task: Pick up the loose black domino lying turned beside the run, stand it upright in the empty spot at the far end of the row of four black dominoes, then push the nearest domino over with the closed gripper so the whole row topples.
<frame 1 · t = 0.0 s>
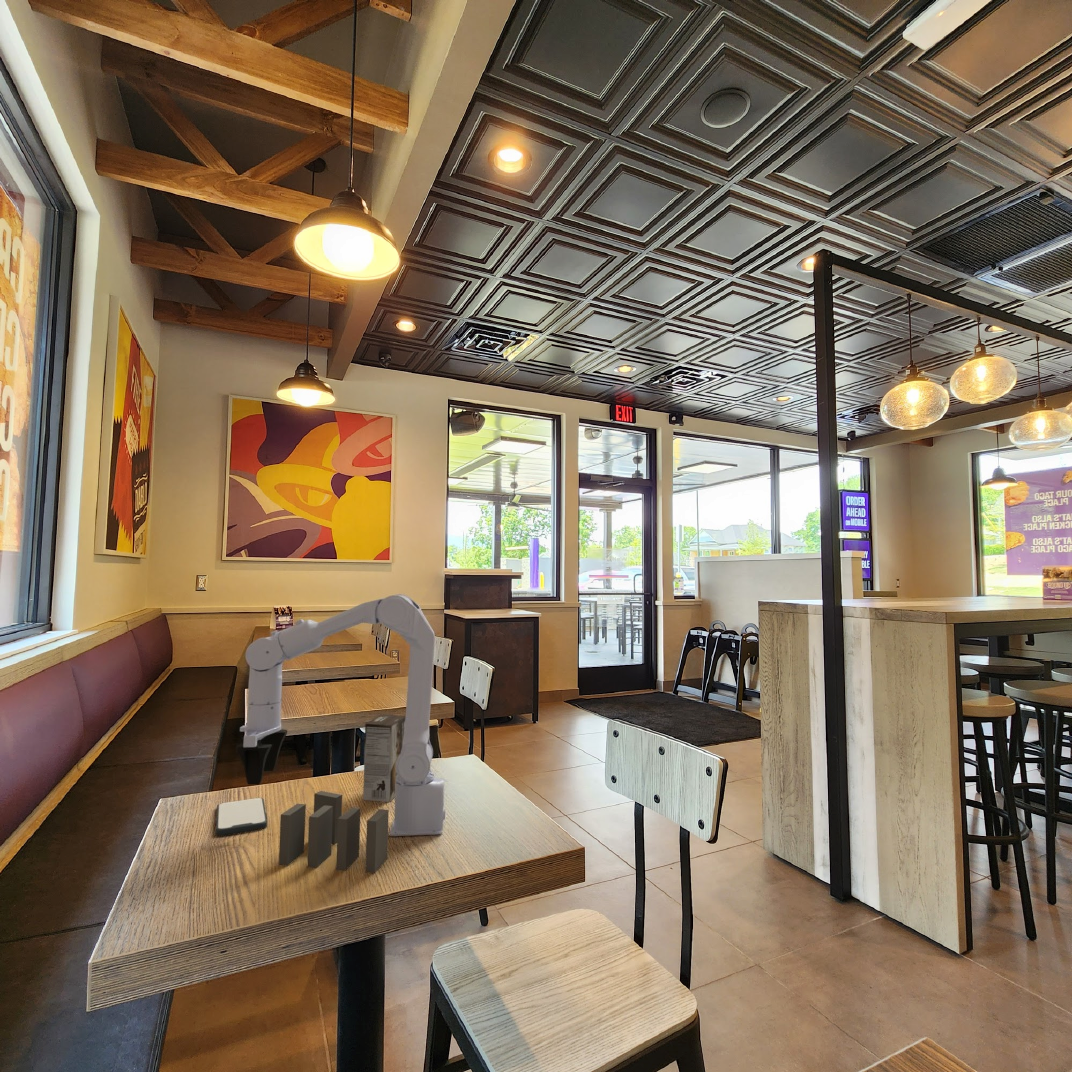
hand: (261, 777, 111), 10 cm above the table, tool pointing down, fingers open, 7 cm apart
domino 3: (319, 860, 99), on the table
coffee box: (384, 795, 131), on the table
domino 1: (376, 865, 98), on the table
end domino: (326, 840, 107), on the table
domino 4: (291, 858, 100), on the table
domino 2: (347, 863, 98), on the table
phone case: (240, 821, 117), on the table
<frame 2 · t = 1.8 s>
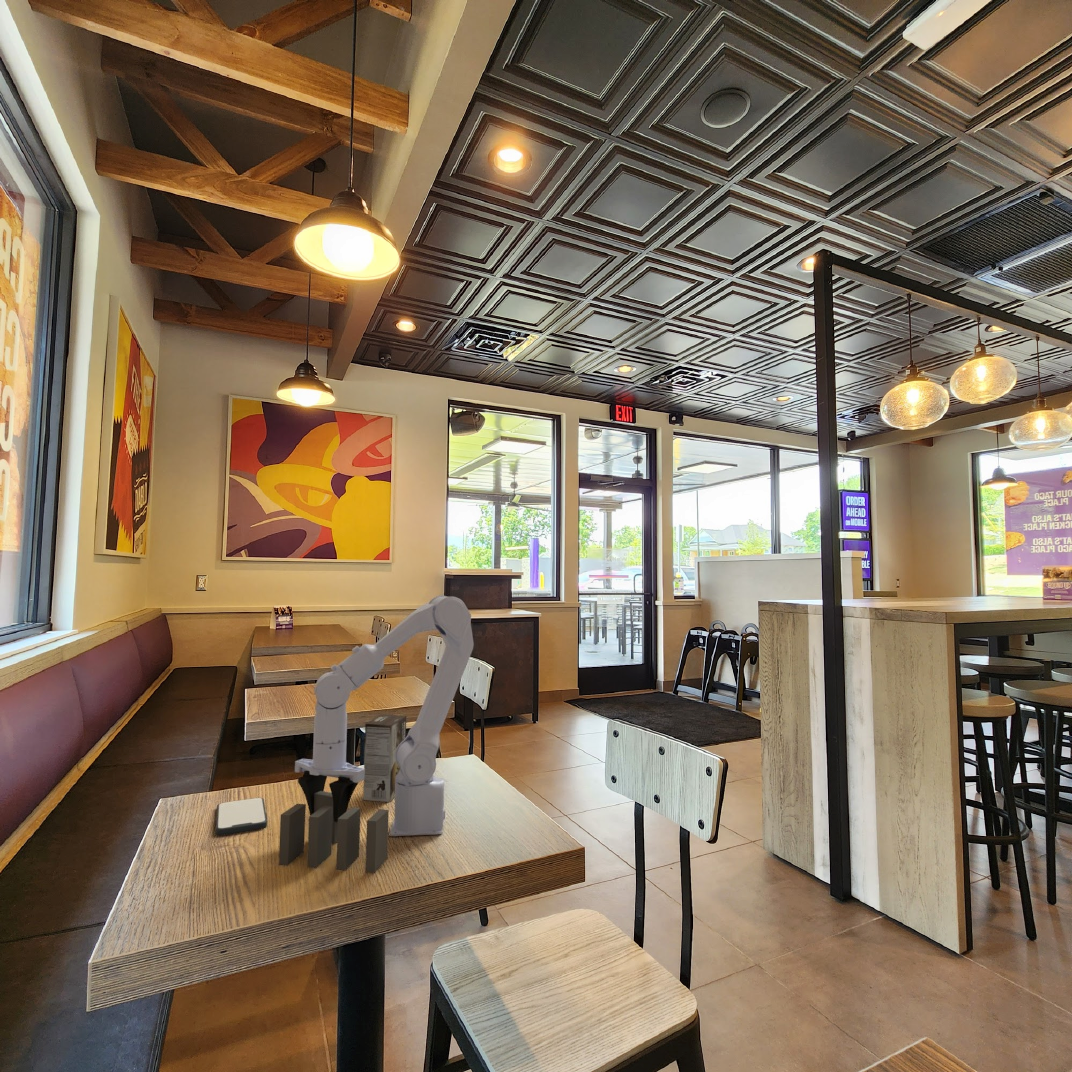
hand: (327, 817, 108), 4 cm above the table, tool pointing down, fingers closed on end domino, 5 cm apart
end domino: (326, 840, 107), on the table, touching gripper
everything else where it was.
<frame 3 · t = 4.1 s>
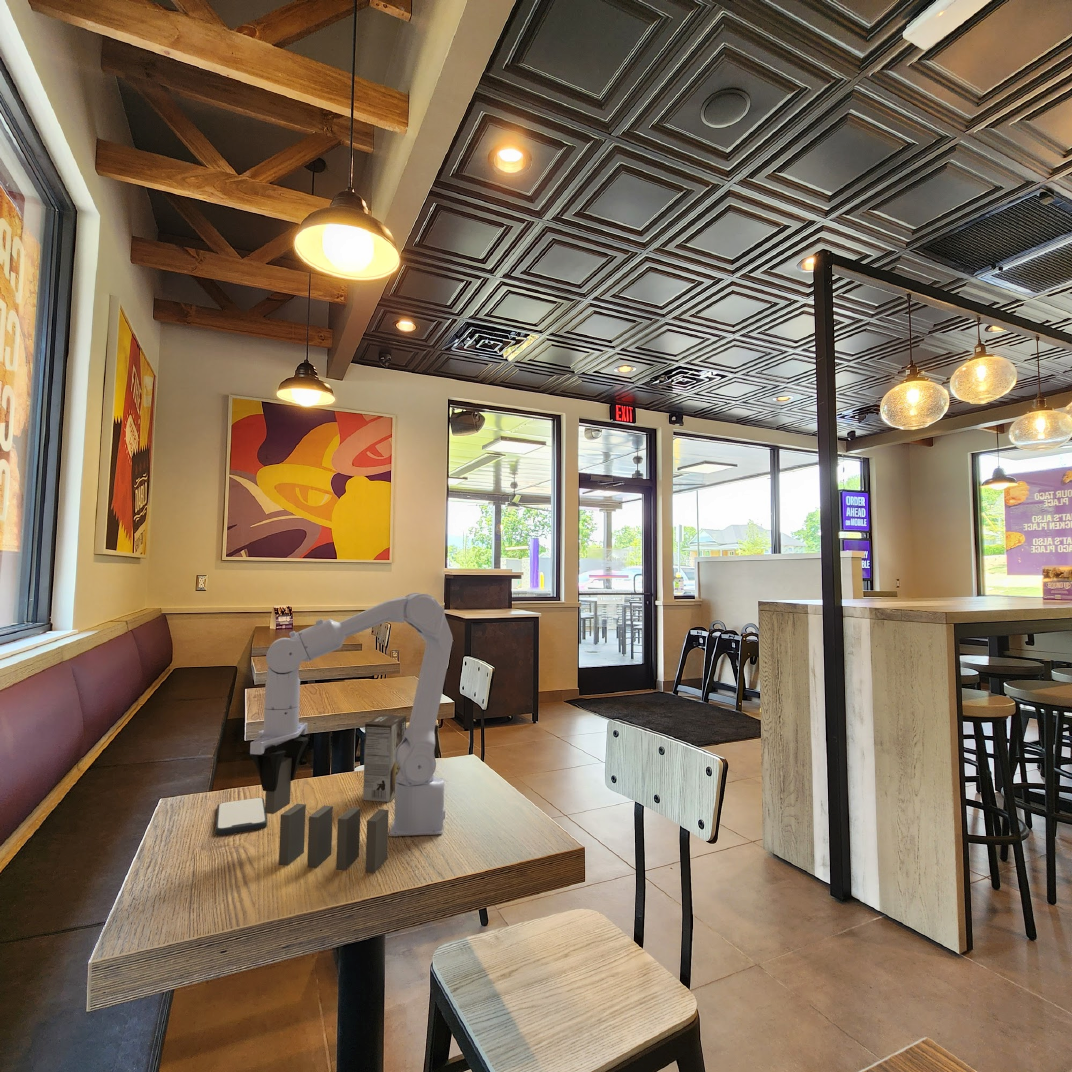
hand: (278, 785, 105), 10 cm above the table, tool pointing down, fingers closed on end domino, 5 cm apart
end domino: (277, 808, 105), point 7 cm above the table, touching gripper
everything else where it was.
when the fingers open (5 cm above the table, at t = 6.4 s): end domino stays where it is, on the table.
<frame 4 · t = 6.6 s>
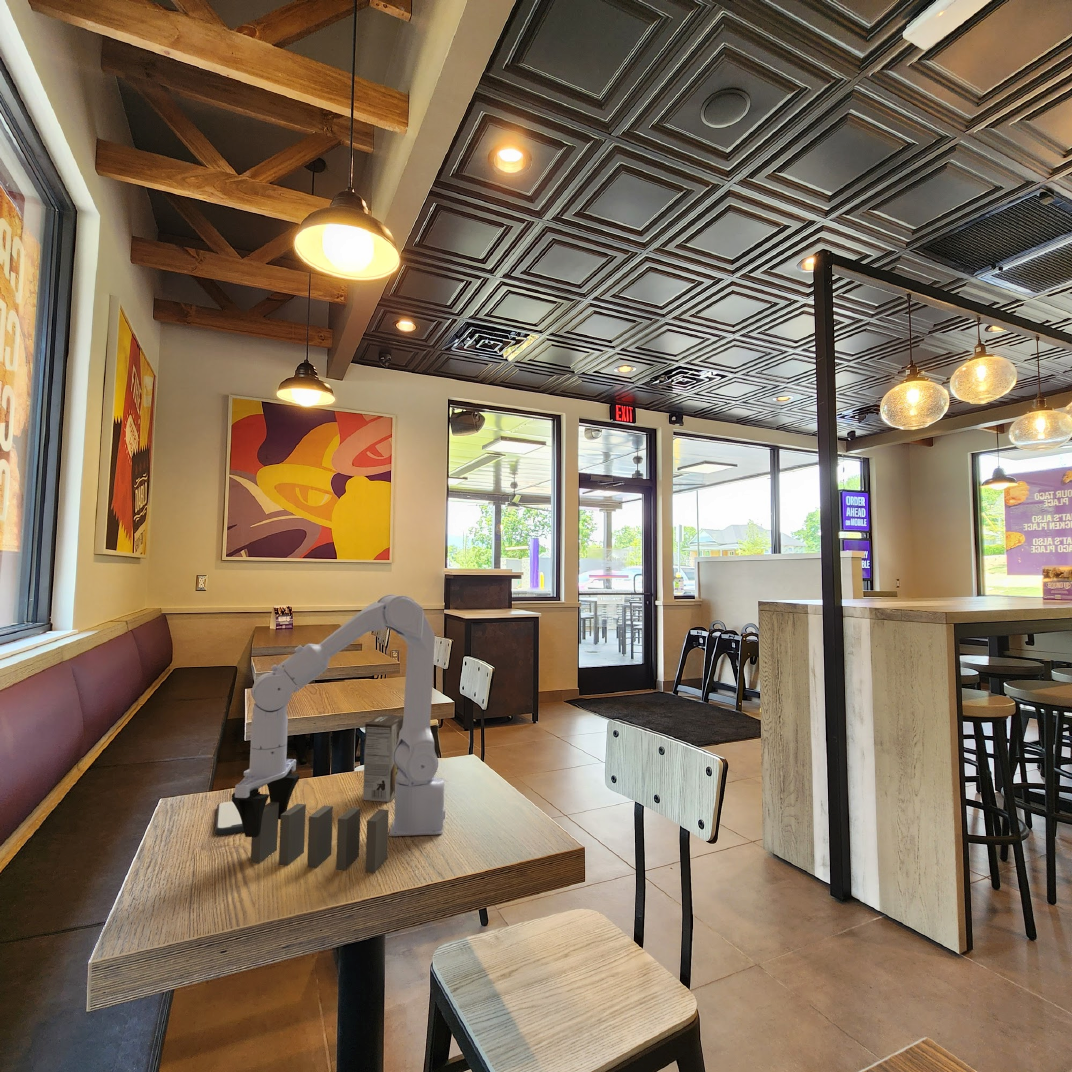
hand: (265, 827, 101), 5 cm above the table, tool pointing down, fingers open, 7 cm apart
end domino: (264, 856, 101), on the table
everything else where it was.
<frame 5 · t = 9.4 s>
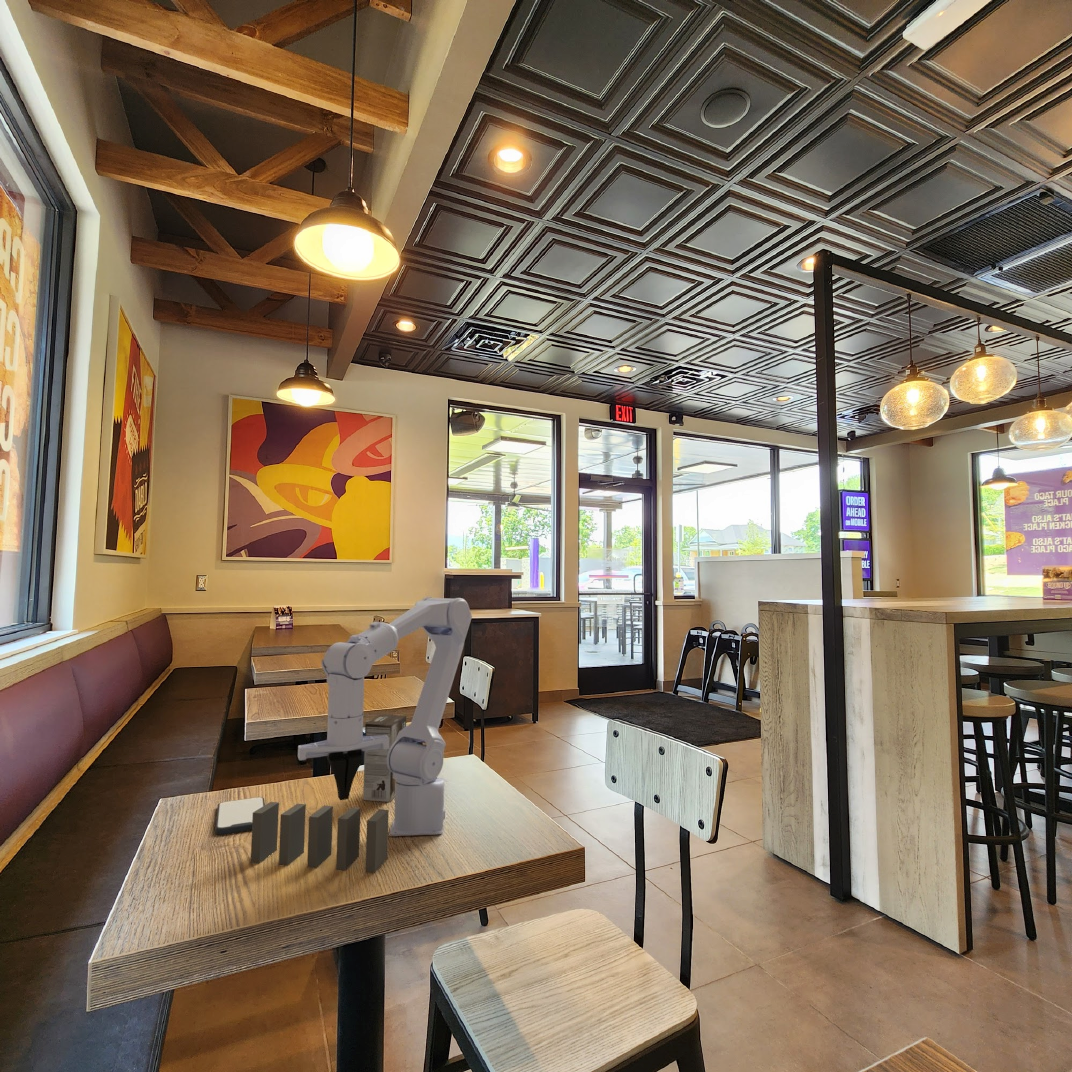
hand: (343, 797, 100), 10 cm above the table, tool pointing down, fingers closed
nothing on the table moved.
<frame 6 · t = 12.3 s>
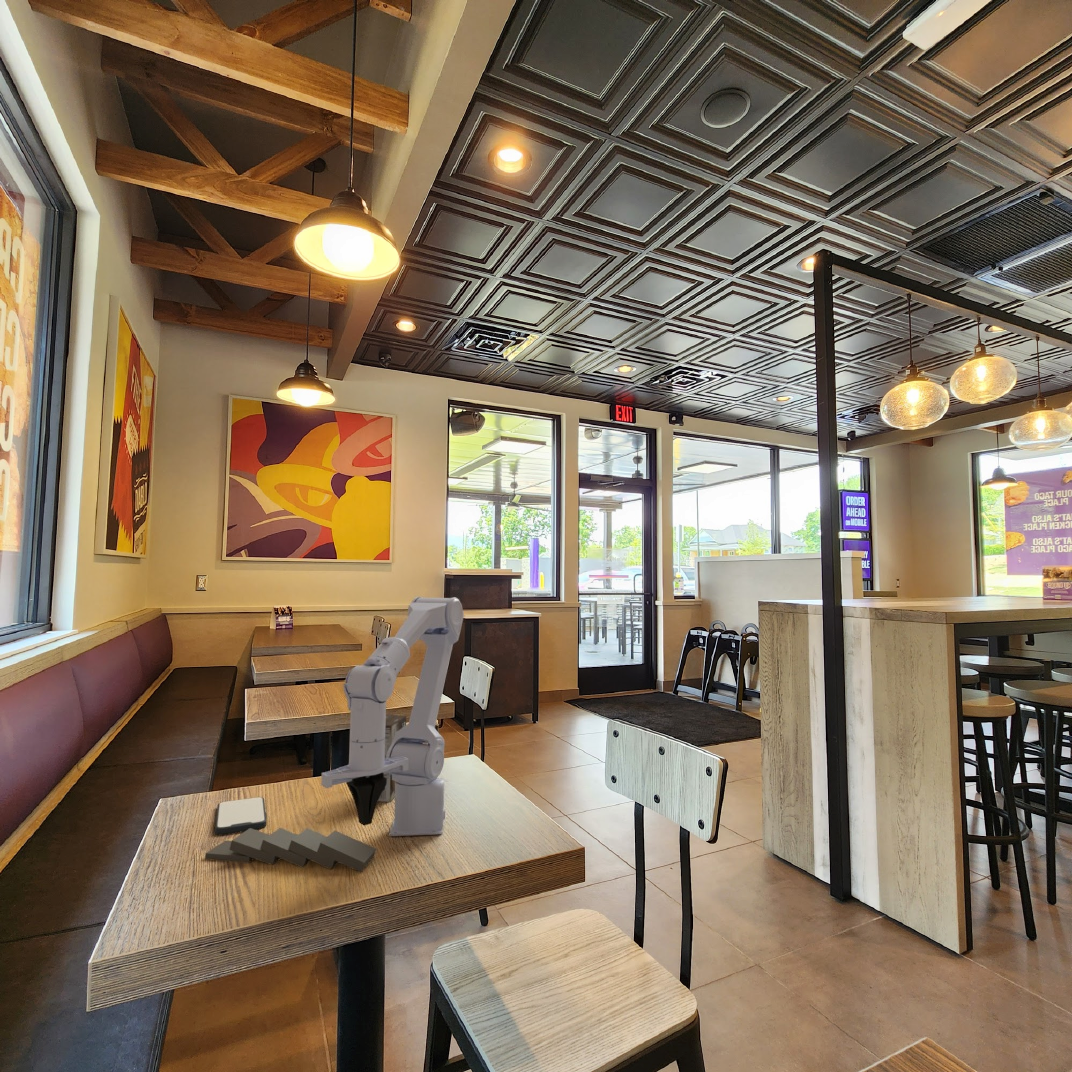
hand: (365, 822, 99), 7 cm above the table, tool pointing down, fingers closed
domino 3: (312, 855, 99), point 1 cm above the table, tilted 73°
domino 1: (368, 860, 98), point 1 cm above the table, tilted 71°, touching domino 2
end domino: (258, 854, 101), on the table, tilted 90°
domino 4: (282, 853, 100), point 1 cm above the table, tilted 76°
domino 2: (339, 857, 99), point 1 cm above the table, tilted 71°, touching domino 1
everything else where it was.
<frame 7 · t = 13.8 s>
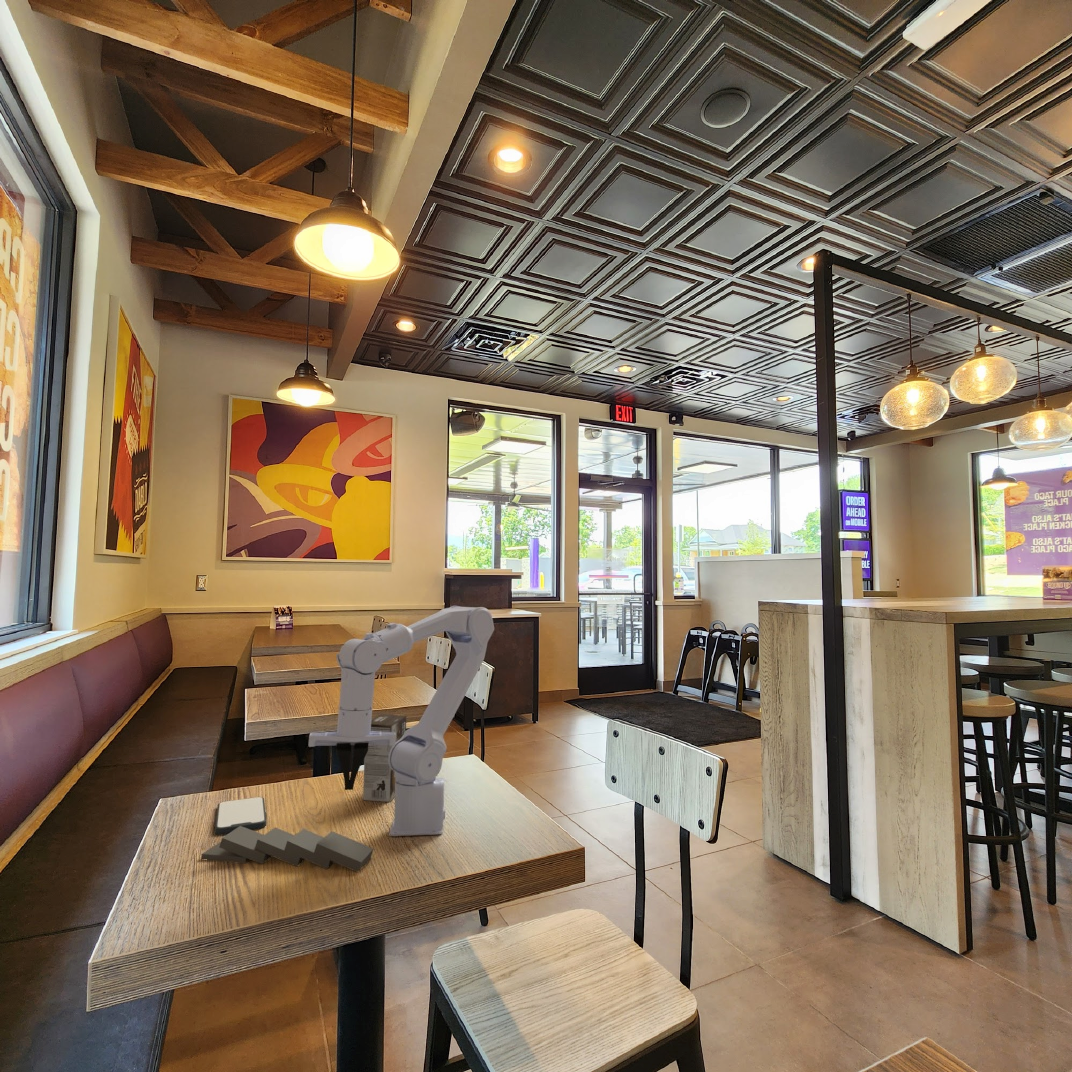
hand: (349, 788, 104), 10 cm above the table, tool pointing down, fingers closed
domino 3: (306, 855, 100), point 1 cm above the table, tilted 74°, touching domino 2, domino 4
domino 1: (366, 860, 98), point 1 cm above the table, tilted 73°
end domino: (254, 855, 101), on the table, tilted 90°, touching domino 4
domino 4: (272, 852, 100), point 1 cm above the table, tilted 74°, touching domino 3, end domino
domino 2: (336, 857, 99), point 1 cm above the table, tilted 72°, touching domino 3
everything else where it was.
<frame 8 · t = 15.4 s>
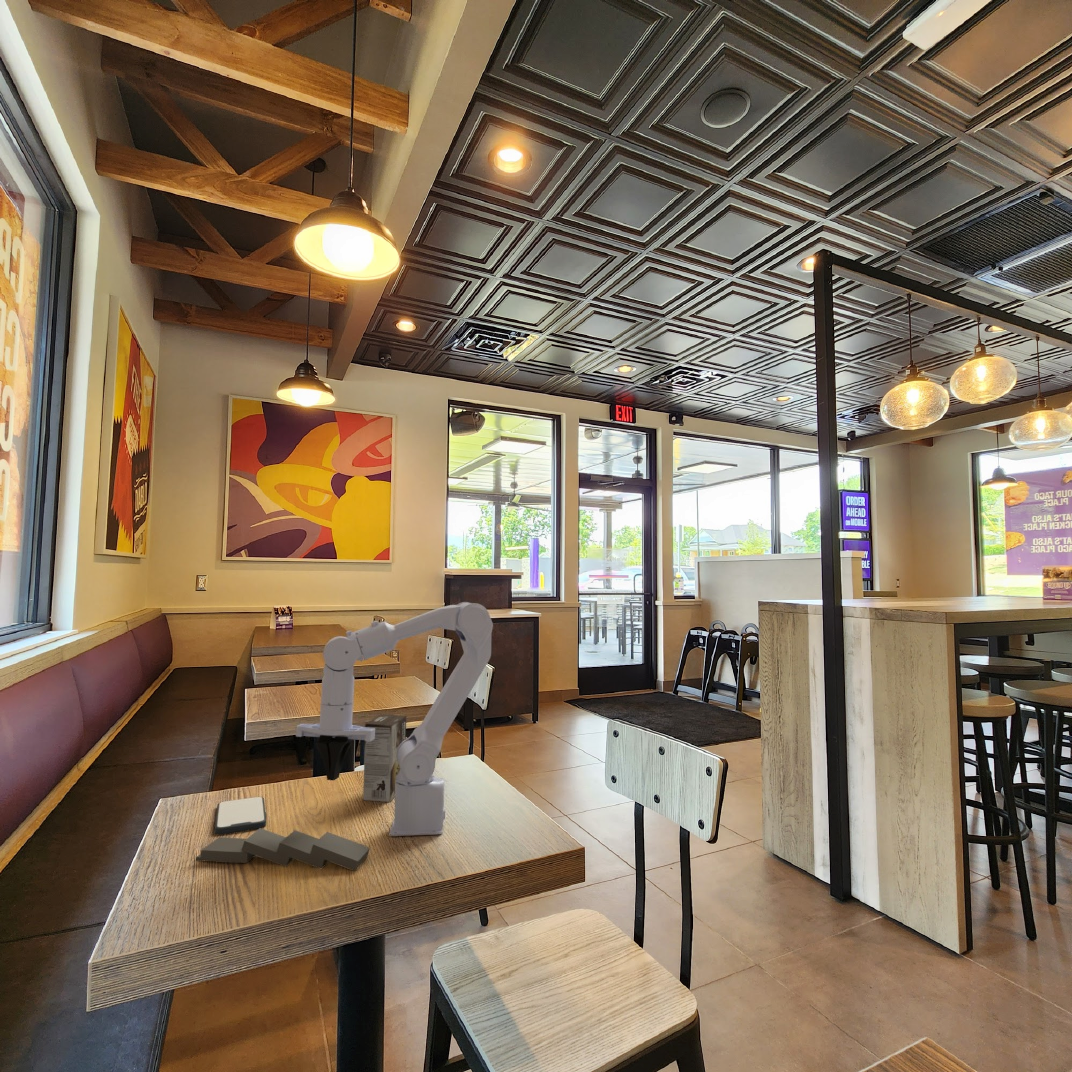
hand: (333, 778, 109), 10 cm above the table, tool pointing down, fingers closed
domino 3: (294, 854, 100), point 1 cm above the table, tilted 73°, touching domino 2
domino 1: (362, 859, 98), point 1 cm above the table, tilted 74°, touching domino 2
end domino: (249, 858, 101), on the table, tilted 90°
domino 4: (255, 850, 100), point 1 cm above the table, tilted 90°
domino 2: (329, 857, 99), point 1 cm above the table, tilted 74°, touching domino 1, domino 3
everything else where it was.
at the end: end domino inside the target area (1.9 cm from its centre), on the table; end domino tilted 90°; domino 1 tilted 75° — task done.
